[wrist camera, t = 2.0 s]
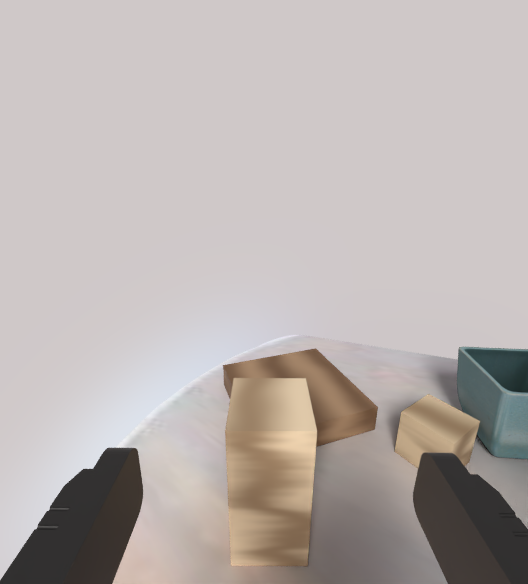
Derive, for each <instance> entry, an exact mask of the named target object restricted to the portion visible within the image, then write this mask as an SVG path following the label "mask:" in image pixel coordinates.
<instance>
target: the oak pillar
mask: <svg viewBox="0 0 528 584" xmlns="http://www.w3.org/2000/svg"><path fill="white" fill-rule="evenodd" d="M225 435H226V459H227V482H228V506H229V529H230V553H231V566H308V552H309V538H310V524H311V510H312V496H313V482H314V468H315V454H316V440H317V428H316V424H315V419H314V414H313V410H312V405H311V400H310V396H309V391H308V386H307V382H306V378H234V380H233V386H232V392H231V399H230V405H229V411H228V417H227V423H226V430H225Z"/></svg>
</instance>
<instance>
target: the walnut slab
mask: <svg viewBox="0 0 528 584" xmlns="http://www.w3.org/2000/svg"><path fill="white" fill-rule="evenodd" d="M223 369H224V385H225V388H226V390H227V393H228V395H229V398H230V399H231V392H232V386H233V380H234V378H306V382H307V386H308V391H309V396H310V400H311V405H312V410H313V414H314V419H315V424H316V428H317V440H316V447H317V446H320V445H324V444H327V443H330V442H334V441H337V440H341V439H344V438H347V437H351V436H354V435H358V434H361V433H364V432H368V431H371V430H374V429H375V424H376V417H377V410H378V407H377V406H376V405H375V404H374V403H373V402H372V401H371V400H370V399H369V398H368V397H367V396H365V395H364V394H363V393H362V392H361V391H360V390H359V389H358V388H357V387H356V386H355V385H354V384H353V383H352V382H351V381H350V380H348V379H347V378H346V377H345V376H344V375H343V374H342V373H341V372H340V371H339V370H338V369H337V368H336V367H335V366H334V365H333V364H332V363H330V362H329V361H328V360H327V359H326V358H325V357H324V356H323V355H322V354H321V353H320V352H319V351H318V350H317V349H311V350H305V351H300V352H294V353H289V354H283V355H278V356H272V357H267V358H261V359H256V360H250V361H245V362H239V363H234V364H228V365H223Z"/></svg>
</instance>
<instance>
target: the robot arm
mask: <svg viewBox="0 0 528 584" xmlns="http://www.w3.org/2000/svg"><path fill="white" fill-rule="evenodd" d="M142 499H143V485H142V478H141V470H140V463H139V456H138V451H137V449H136V448H107V449H106V450H105V451H104V452H103V454H102V455H101V457H100V459H99V460H98V462H97V464H96V465H95V467H94V468H93V469H83V470H82V471H81V472H79V474H77V475H76V476H75V477H74V478H73V479H72V480H70V481H69V483H67V484H66V485H65V486H64V487H63V488H62V490H61V491H60V493H59V494H58V496H57V497H56V499H55V500H54V502H53V503H52V505H51V506H50V510H49V511H47V512H46V514H45V515H44V517H43V518H42V519H41V521H40V522H39V524H38V527H37V529H36V530H34V531H33V533H32V534H31V536H30V537H29V539H28V540H27V542H26V543H25V545H24V547H23V548H22V549H21V551H20V552H19V553H18V555H17V557H16V558H15V560H14V561H13V562H12V564H11V565H10V567H9V568H8V570H7V571H6V573H5V574H4V576H3V577H2V579H1V580H0V584H112V583H113V580H114V578H115V575H116V572H117V570H118V567H119V565H120V562H121V560H122V557H123V554H124V552H125V549H126V547H127V544H128V541H129V539H130V536H131V534H132V531H133V528H134V526H135V523H136V521H137V518H138V515H139V512H140V509H141V505H142ZM413 501H414V508H415V512H416V515H417V518H418V520H419V522H420V524H421V527H422V529H423V531H424V533H425V535H426V537H427V539H428V542H429V544H430V546H431V548H432V550H433V552H434V554H435V557H436V559H437V561H438V563H439V565H440V567H441V569H442V572H443V574H444V576H445V578H446V580H447V582H448V584H528V529H527V528H526V527H525V525H524V524H523V523H522V521H521V520H520V519H519V518H517V517H516V516H515V512H514V511H513V510H512V509H511V507H510V506H509V505H508V503H507V502H506V501H505V499H504V498H503V497H502V496H501V494H500V493H499V492H498V491H497V490H496V489H494V488H493V487H492V486H491V485H490V484H488V483H487V482H486V481H485V480H483V479H482V478H481V477H480V476H479V475H473V474H470V473H469V472H468V471H467V469H466V468H465V466H464V465H463V464H462V462H461V461H460V460H459V458H458V457H457V456H456V455H455V454H453V453H428V452H424V453H423V454H422V455H421V458H420V463H419V468H418V473H417V477H416V482H415V487H414V492H413Z"/></svg>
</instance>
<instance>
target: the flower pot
mask: <svg viewBox="0 0 528 584" xmlns="http://www.w3.org/2000/svg"><path fill="white" fill-rule="evenodd" d="M458 354H459V355H458V371H457V390H458V396H459V400H460V404H461V406H462V409H463V412H464V413H466V414H468V415H469V416H471V417H473V418H475V419H477V420H479V421H480V424H479V427H478V431H477V435H478V437H479V438H480V439H481V441H482V442H483V443H484V445H485V446H486V448H487V449H488V450H489V452H490V453H491V454H492V455H494V456H496V457H503V458H519V459H528V349H504V348H503V349H501V348H479V347H459V353H458Z"/></svg>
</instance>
